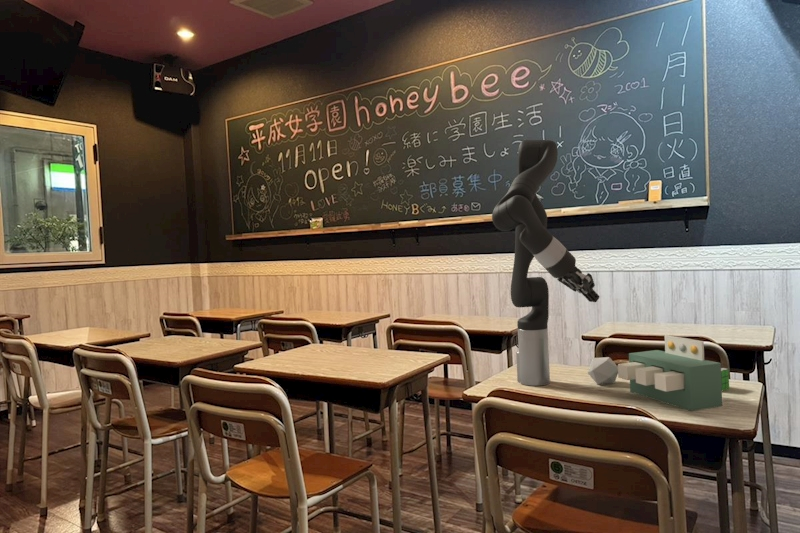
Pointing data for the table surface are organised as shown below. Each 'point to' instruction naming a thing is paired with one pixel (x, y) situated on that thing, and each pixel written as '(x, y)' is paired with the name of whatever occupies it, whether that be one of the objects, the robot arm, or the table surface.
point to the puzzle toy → (725, 378)
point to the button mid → (647, 375)
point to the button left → (628, 370)
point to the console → (688, 360)
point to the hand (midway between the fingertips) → (594, 299)
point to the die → (603, 370)
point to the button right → (669, 381)
